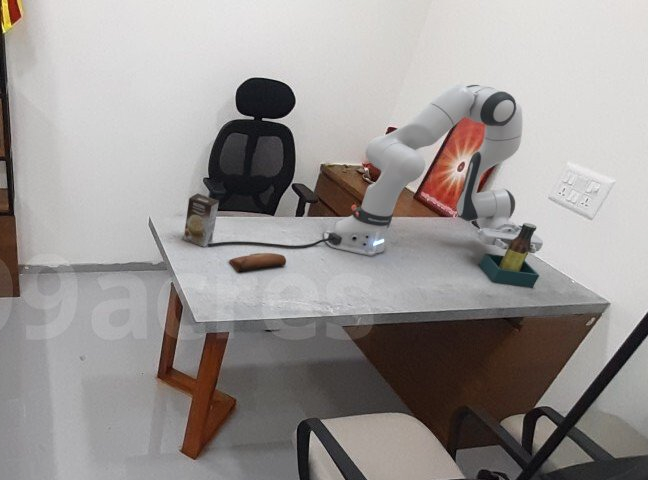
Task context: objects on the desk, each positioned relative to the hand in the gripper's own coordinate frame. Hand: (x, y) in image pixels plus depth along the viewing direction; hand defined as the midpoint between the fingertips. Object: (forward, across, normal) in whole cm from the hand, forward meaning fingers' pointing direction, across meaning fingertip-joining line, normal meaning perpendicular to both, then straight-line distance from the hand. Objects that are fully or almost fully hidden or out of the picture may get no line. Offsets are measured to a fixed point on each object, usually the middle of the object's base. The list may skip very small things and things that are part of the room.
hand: (519, 249), depth 179 cm
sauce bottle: (0, 0, +11) cm, 11 cm away
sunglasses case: (+18, -90, +11) cm, 93 cm away
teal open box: (0, 0, +11) cm, 11 cm away
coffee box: (+6, -111, +11) cm, 112 cm away
